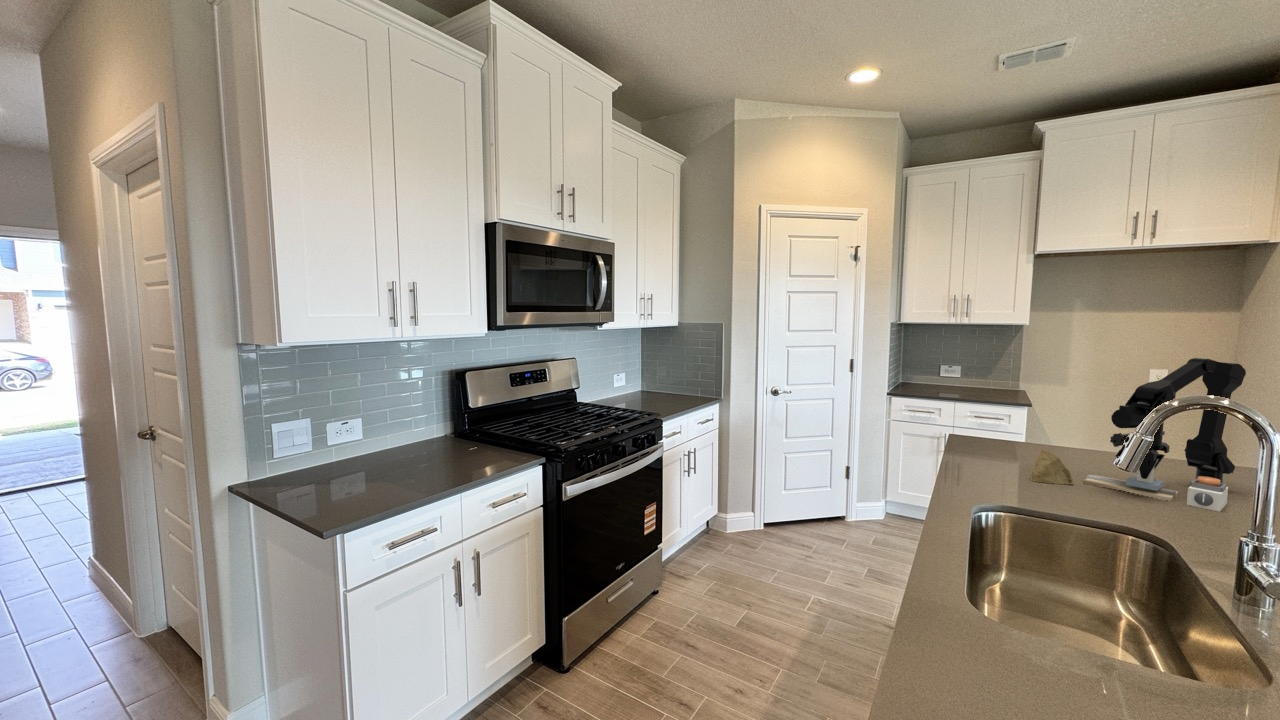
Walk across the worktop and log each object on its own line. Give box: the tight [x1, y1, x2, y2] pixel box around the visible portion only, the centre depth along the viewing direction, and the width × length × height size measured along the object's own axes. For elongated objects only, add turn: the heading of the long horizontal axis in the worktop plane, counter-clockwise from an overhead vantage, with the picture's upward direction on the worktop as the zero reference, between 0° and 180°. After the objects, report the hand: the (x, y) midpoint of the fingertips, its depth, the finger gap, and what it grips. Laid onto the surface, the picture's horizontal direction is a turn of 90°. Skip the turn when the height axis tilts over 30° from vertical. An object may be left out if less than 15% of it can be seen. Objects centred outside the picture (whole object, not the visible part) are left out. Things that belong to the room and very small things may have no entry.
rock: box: [1030, 450, 1074, 485], centre depth 167 cm, size 11×9×10 cm
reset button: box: [1197, 476, 1221, 486], centre depth 147 cm, size 4×4×1 cm
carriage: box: [1125, 468, 1165, 491], centre depth 158 cm, size 8×7×6 cm
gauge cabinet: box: [1186, 478, 1229, 513], centre depth 148 cm, size 10×6×6 cm, turn 124°
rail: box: [1082, 474, 1180, 502], centre depth 162 cm, size 10×20×2 cm, turn 34°
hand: (1145, 477), depth 158 cm, fingers closed on carriage, 3 cm apart
